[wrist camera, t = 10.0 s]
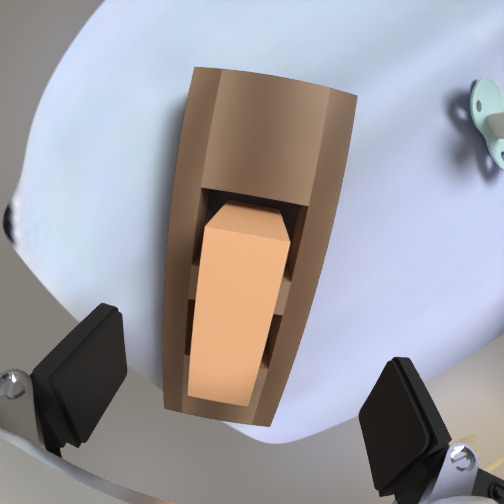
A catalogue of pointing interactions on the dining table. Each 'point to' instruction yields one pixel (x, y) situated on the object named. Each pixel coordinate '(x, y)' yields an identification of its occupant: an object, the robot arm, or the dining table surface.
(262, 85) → the rail
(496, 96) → the pacifier
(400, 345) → the dining table surface
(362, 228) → the dining table surface
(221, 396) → the clip
